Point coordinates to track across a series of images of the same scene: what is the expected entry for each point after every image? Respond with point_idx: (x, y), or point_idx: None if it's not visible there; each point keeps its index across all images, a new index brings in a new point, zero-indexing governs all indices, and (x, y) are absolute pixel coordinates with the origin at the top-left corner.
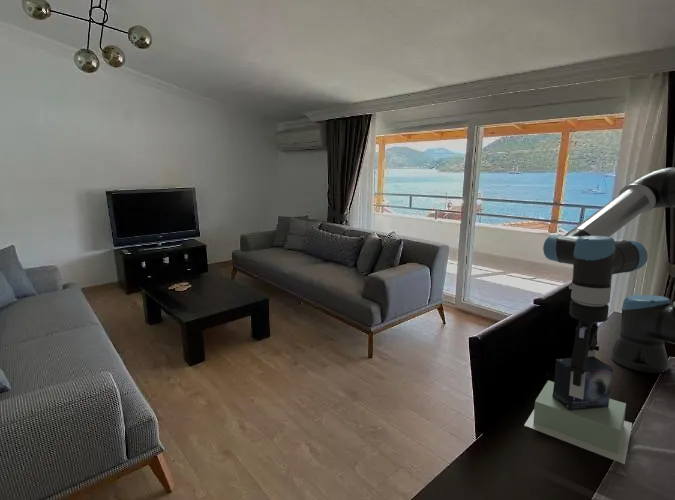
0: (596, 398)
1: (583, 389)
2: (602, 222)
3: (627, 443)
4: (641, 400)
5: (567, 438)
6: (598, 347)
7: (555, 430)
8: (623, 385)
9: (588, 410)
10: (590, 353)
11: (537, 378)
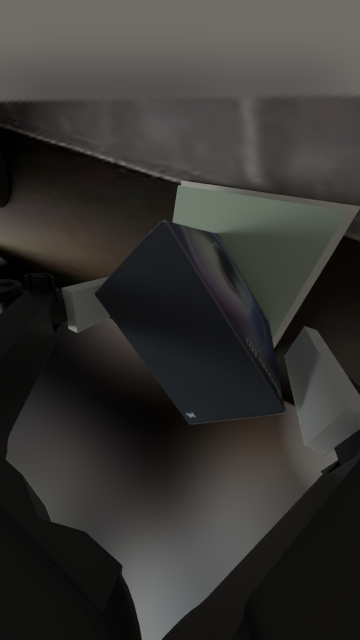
0: (236, 270)
1: (330, 351)
2: None
3: (266, 195)
4: (87, 159)
5: None
6: (30, 277)
7: None
8: (61, 191)
9: (252, 283)
10: (82, 304)
11: None
